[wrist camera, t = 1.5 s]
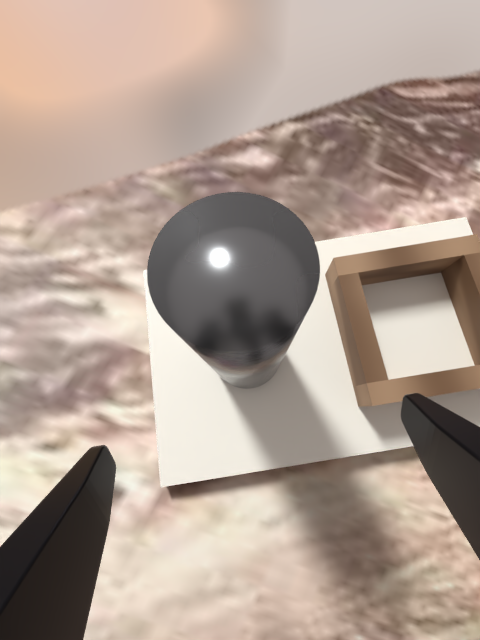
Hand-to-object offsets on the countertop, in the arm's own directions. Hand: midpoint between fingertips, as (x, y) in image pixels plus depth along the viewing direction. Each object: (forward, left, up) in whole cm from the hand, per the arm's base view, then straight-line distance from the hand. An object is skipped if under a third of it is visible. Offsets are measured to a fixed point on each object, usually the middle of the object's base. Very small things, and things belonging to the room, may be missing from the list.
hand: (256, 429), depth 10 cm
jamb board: (+1, -7, -11) cm, 13 cm away
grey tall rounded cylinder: (+3, -2, -10) cm, 11 cm away
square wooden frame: (-2, -11, -10) cm, 15 cm away
